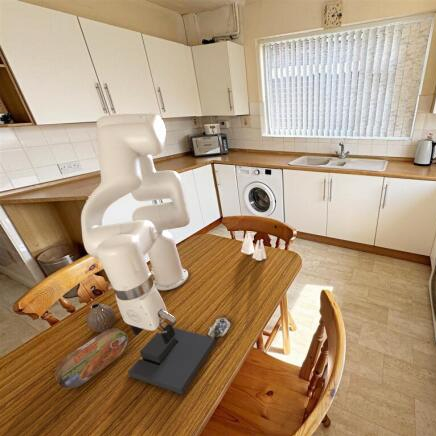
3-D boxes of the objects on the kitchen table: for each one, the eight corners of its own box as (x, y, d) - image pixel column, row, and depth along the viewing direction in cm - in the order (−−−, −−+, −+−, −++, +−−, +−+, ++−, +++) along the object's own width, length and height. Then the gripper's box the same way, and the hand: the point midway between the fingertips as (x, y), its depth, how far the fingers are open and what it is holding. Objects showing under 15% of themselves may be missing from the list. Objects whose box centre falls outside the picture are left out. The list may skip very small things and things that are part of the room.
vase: (89, 339, 70) (77, 318, 66) (95, 322, 76) (84, 301, 72) (116, 330, 73) (106, 309, 69) (120, 314, 78) (111, 294, 75)
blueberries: (205, 341, 68) (204, 336, 68) (209, 319, 76) (208, 314, 75) (229, 337, 69) (228, 333, 68) (231, 316, 76) (230, 311, 76)
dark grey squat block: (143, 361, 63) (139, 351, 62) (160, 342, 69) (157, 332, 67) (162, 367, 62) (157, 357, 60) (178, 347, 67) (174, 337, 65)
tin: (67, 396, 56) (50, 374, 53) (62, 389, 58) (46, 366, 54) (133, 346, 68) (123, 325, 64) (127, 341, 69) (117, 320, 66)
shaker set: (240, 254, 109) (237, 233, 104) (246, 250, 112) (244, 229, 107) (261, 262, 103) (258, 240, 98) (267, 257, 106) (265, 236, 101)
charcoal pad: (129, 376, 60) (127, 371, 59) (170, 330, 72) (168, 326, 71) (182, 394, 56) (180, 389, 55) (216, 343, 68) (214, 338, 67)
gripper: (90, 289, 54) (117, 339, 62) (151, 305, 50) (171, 356, 57) (120, 269, 61) (140, 316, 68) (176, 281, 56) (191, 330, 64)
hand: (155, 334), depth 63 cm, fingers open, 9 cm apart
